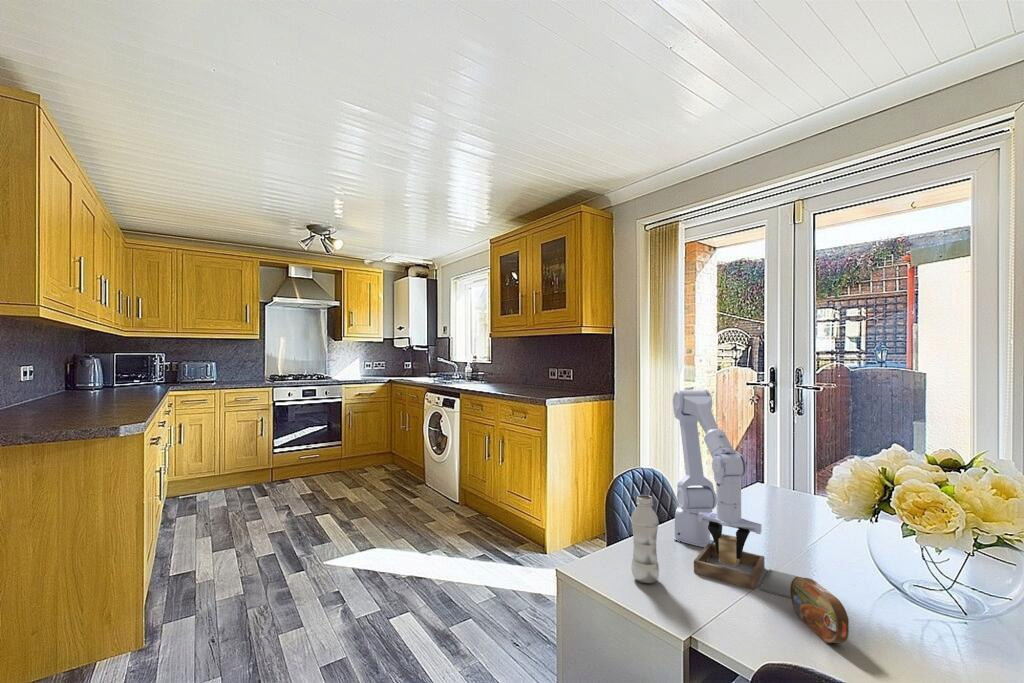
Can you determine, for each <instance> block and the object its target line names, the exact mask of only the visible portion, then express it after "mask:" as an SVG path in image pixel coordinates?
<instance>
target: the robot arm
mask: <svg viewBox="0 0 1024 683" xmlns="http://www.w3.org/2000/svg"><path fill="white" fill-rule="evenodd" d="M672 407H673V409H672V410H673V414H674V418H675V419H677V420H679V427H680V434H681V436H680V437H681V443H682V454H683V461H684V462H683V463H684V470H685V476H683V477H682V478H681V479H680V480H679V481H678V482H677V485H676V486H677V491H676V499H677V503H678V506H677V508H676V510H675V513H674V538H673V540H674V541H676V540H677V542H680V541H681V543H684V544H687V545H688V544H689V545H693V546H696V547H701V548H703V549H704V548H705V547H706V546H707V545H708V543H710V544H713V543H714V545H716V549H717V554H719V538H720V537H721V535H722V534H723V527H729V528H734V529H737V530H736V532H735V537H736V539H737V559H741V557H742V551H744V546H745V544H746V541H747V539H748V537H749V534H750V533H751V532H753V533H755V534H757V535H761V534H762V532H763V530H762V523H758V522H755V521H751V520H748V519H745V518H742V477H744V476H745V474H746V472H747V464H746V461H745V458H744V456H743V455H742V453H739V452H738V451H737V450H735V449H734V447H733V446H732V444H731V442H730V440H729V438H728V436H727V434H726V432H725V431H724V430H722V429H719V427H718V424H717V421H716V419H715V416H714V413H713V411H712V407H713V397H712V394H711V393H710V392H709V390H708V389H701V390H680V389H676V391H675V392H674V394H673V396H672ZM698 424H699V425H700V427H701V429H702V431H703V432H704V433H705V435H704V438H703V441H704V443H705V445H706V448H707V449H708V451H709V455H710V456H711V458H712V461H711V468H712V469H711V470H712V471H713V479H714V482H715V483H716V491H715V488H714V483H713V482H712V481H711V480H709V478H707V477H705V474H704V468H703V459H702V452H701V444H700V436H699V427H698ZM693 486H694V487H693ZM697 486H699V487H697ZM715 508H716V513H714V512H713V510H715Z"/></svg>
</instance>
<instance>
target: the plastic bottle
mask: <svg viewBox="0 0 1024 683" xmlns="http://www.w3.org/2000/svg"><path fill="white" fill-rule="evenodd" d="M635 502H636V503H635V505H637V506H636V507H635V508H634V510H633V511H632V513H631V516H630V522H631V528H632V535H633V536H632V538H633V549H632V551H633V554H632V560H631V565H630V566H631V568H630V569H631V574H632V576H633V578H634V579H635V580H636V581H638V582H640V583H643V584H654V583H656V582H657V580H659V577H660V566H659V565H660V564H659V562H658V553H657V540H658V539H657V536H658V528H659V517H658V515H657V512H656V511H655V510H654V508H653V506H654V503H653V497H652V496H651V495H647V494H639V495H637V496H636V501H635Z"/></svg>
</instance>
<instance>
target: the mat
mask: <svg viewBox="0 0 1024 683" xmlns="http://www.w3.org/2000/svg"><path fill="white" fill-rule="evenodd" d="M795 577H799V576H797V575H795V574H794V575H793V574H790V573H786V572H783V571H782V572H781V571H777V570H775V569H768V571H767V573H766V575H765V578H764V580H763V582H762V584H761V587H760V591H763V592H767V593H770V594H774V595H778V596H781V597H784V598H788V599H791V595H790V587H791V583H792V580H793V579H794V578H795ZM800 577H801V578H803V577H802V576H800Z"/></svg>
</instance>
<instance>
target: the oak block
mask: <svg viewBox="0 0 1024 683" xmlns="http://www.w3.org/2000/svg"><path fill="white" fill-rule="evenodd" d="M739 562H740V559H737V539H736V536H733V535H729V534H726V533H722V535H721V537H720V538H719V558H718V563H719V564H723V565H727V566H730V567H733V568H737V567H738V565H739V564H740V563H739Z"/></svg>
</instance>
